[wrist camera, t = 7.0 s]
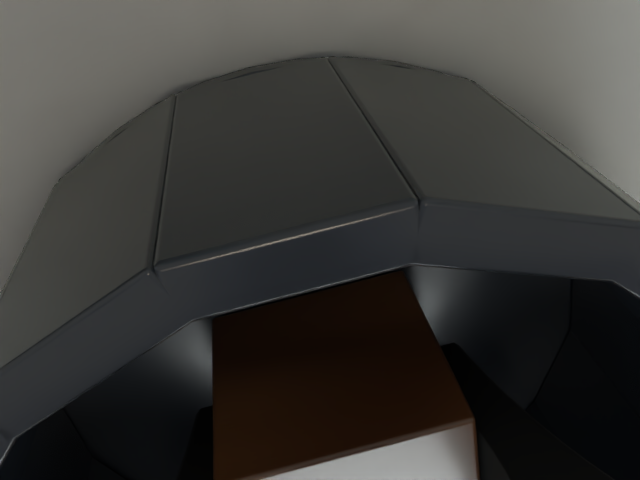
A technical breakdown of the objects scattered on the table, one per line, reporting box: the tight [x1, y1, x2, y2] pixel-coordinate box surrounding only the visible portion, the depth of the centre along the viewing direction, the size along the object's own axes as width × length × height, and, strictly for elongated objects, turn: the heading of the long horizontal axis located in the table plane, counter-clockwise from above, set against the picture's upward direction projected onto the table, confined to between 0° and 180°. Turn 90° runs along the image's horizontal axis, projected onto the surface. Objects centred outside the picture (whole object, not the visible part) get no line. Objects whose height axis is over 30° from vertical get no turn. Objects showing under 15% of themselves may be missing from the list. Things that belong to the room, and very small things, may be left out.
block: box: [212, 271, 480, 480], centre depth 12 cm, size 4×4×4 cm
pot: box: [0, 56, 640, 480], centre depth 12 cm, size 14×14×6 cm
